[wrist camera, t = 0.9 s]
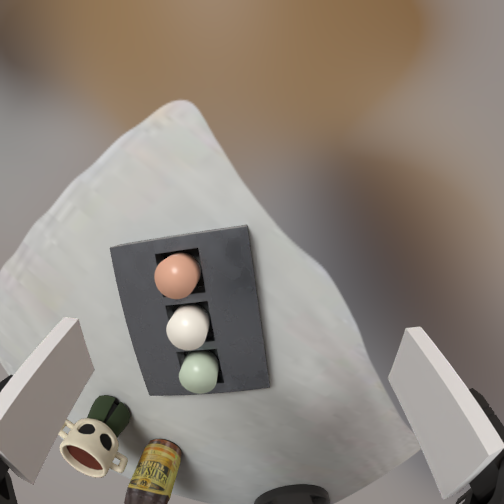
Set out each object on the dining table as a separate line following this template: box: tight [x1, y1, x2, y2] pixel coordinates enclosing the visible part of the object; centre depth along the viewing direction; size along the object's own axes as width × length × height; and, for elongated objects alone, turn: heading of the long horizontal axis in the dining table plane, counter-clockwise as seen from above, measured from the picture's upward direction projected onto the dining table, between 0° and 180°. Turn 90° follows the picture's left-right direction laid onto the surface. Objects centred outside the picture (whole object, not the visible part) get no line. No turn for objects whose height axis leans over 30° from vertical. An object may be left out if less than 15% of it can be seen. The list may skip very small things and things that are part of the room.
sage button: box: [179, 350, 219, 394], centre depth 33 cm, size 4×4×4 cm
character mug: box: [58, 395, 130, 478], centre depth 32 cm, size 11×7×13 cm, turn 57°
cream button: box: [166, 303, 210, 350], centre depth 32 cm, size 4×4×4 cm
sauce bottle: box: [124, 439, 181, 504], centre depth 30 cm, size 6×6×20 cm
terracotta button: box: [154, 252, 201, 299], centre depth 31 cm, size 4×4×4 cm
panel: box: [110, 225, 270, 396], centre depth 34 cm, size 20×16×3 cm
